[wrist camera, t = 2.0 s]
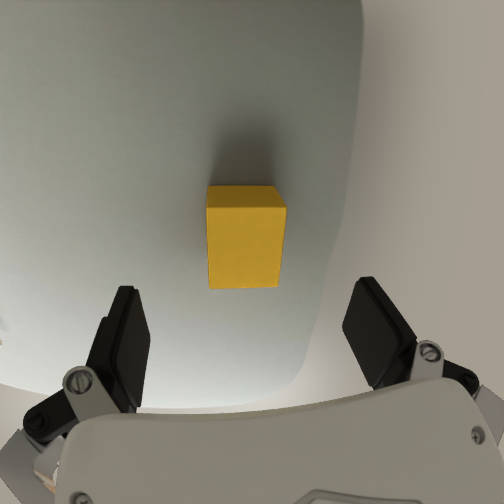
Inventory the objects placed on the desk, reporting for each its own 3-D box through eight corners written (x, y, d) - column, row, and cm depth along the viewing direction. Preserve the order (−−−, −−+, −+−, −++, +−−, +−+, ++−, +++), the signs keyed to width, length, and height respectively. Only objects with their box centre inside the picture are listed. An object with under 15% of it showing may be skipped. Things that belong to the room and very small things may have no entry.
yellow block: (209, 256, 19) (209, 289, 16) (208, 185, 16) (205, 207, 13) (268, 255, 19) (278, 287, 16) (274, 185, 17) (287, 206, 14)
